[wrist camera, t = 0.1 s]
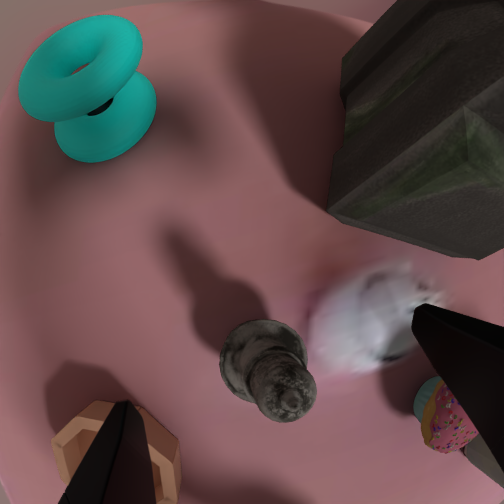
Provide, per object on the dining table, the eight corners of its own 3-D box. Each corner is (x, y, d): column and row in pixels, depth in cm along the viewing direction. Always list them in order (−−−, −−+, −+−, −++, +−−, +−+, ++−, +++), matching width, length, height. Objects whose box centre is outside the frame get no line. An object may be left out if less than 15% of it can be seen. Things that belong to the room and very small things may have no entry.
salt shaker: (211, 380, 22) (207, 456, 10) (229, 307, 23) (240, 320, 11) (284, 394, 22) (340, 469, 10) (302, 324, 23) (379, 348, 11)
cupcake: (388, 390, 23) (480, 432, 11) (450, 341, 24) (543, 351, 13) (408, 450, 22) (483, 499, 11) (464, 402, 24) (543, 427, 12)
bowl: (204, 460, 20) (203, 486, 17) (135, 508, 19) (126, 531, 15) (115, 380, 21) (98, 394, 17) (55, 437, 19) (36, 454, 15)
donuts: (169, 24, 15) (55, 130, 13) (180, 104, 25) (108, 187, 23) (85, 1, 15) (-6, 84, 13) (111, 69, 25) (45, 139, 23)
